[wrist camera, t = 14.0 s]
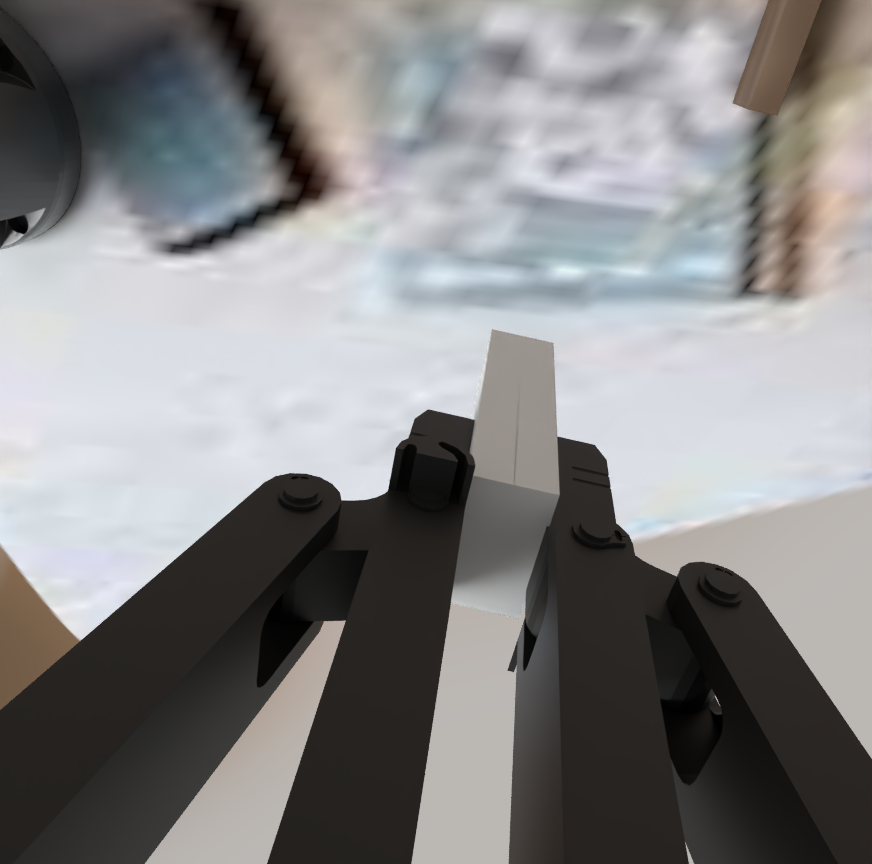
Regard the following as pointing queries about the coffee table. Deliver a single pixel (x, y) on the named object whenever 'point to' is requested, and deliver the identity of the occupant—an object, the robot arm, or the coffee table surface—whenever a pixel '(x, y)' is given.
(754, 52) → the channel walls
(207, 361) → the coffee table surface
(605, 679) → the robot arm
